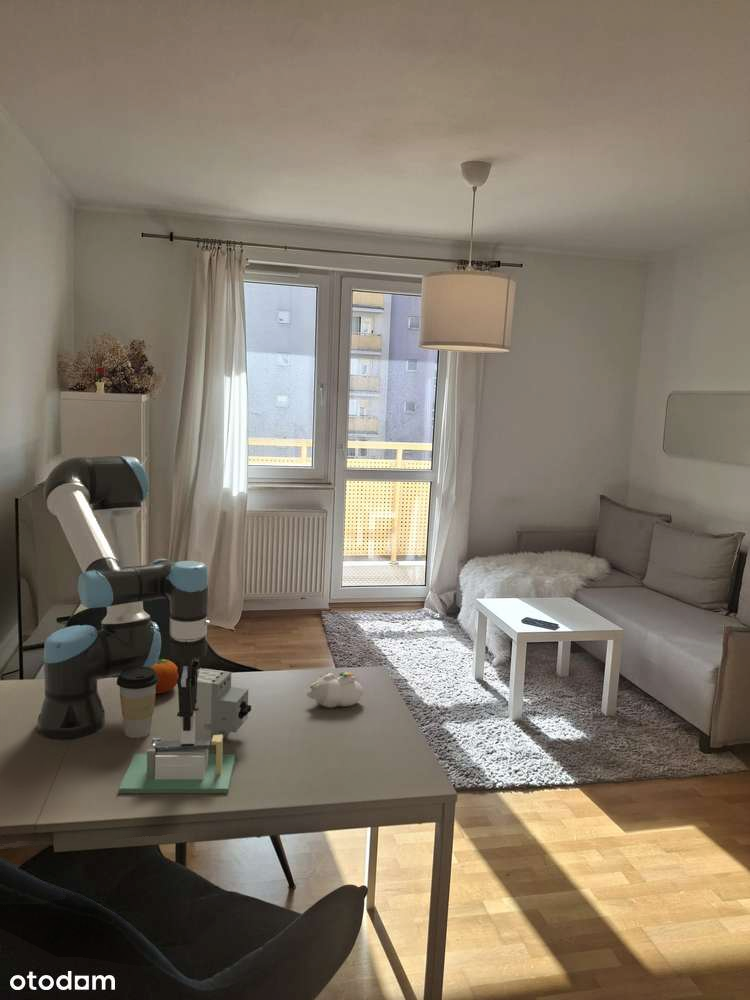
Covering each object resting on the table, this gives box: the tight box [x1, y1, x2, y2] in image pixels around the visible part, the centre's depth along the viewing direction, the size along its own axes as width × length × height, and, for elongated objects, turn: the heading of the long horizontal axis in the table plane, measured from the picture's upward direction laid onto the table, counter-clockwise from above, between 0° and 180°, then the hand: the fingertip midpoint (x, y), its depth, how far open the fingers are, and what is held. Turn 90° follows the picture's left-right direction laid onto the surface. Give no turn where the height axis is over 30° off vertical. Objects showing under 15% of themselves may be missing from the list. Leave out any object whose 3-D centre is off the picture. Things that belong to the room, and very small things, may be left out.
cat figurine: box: [306, 671, 364, 708], centre depth 195 cm, size 10×8×15 cm
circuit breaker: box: [193, 667, 252, 745], centre depth 174 cm, size 8×14×15 cm, turn 78°
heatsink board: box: [118, 735, 236, 794], centre depth 157 cm, size 22×14×8 cm, turn 95°
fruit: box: [151, 658, 179, 694], centre depth 198 cm, size 11×10×8 cm
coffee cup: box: [116, 666, 159, 739], centre depth 174 cm, size 9×9×15 cm
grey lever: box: [149, 739, 212, 751], centre depth 157 cm, size 13×3×1 cm, turn 95°
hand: (187, 741), depth 156 cm, fingers closed
